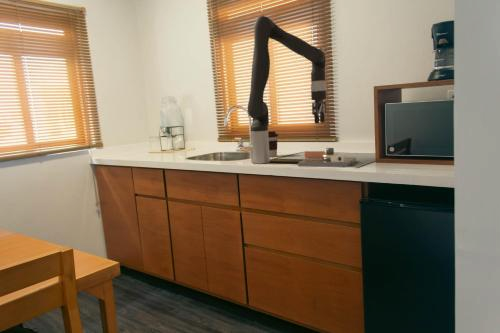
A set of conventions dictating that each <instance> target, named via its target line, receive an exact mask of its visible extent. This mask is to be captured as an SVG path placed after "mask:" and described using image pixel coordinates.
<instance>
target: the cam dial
mask: <svg viewBox="0 0 500 333" xmlns="http://www.w3.org/2000/svg"><path fill="white" fill-rule="evenodd" d="M325 152H326V153H325ZM331 155H340V154H339V153H338V152H337V153H336V152H335V149H334V147H326V151H325V150H317V151H315V150H313V151H312V150H310V151H304V160H305V159H327V160H329V159H331Z"/></svg>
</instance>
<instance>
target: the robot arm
mask: <svg viewBox="0 0 500 333" xmlns="http://www.w3.org/2000/svg"><path fill="white" fill-rule="evenodd" d="M253 28H254V29H253V31H254V32H253V33H254V44H253V55H252V63H251V76H250V93H249V99H248V103H247V113H248V116H249V117H250V118H251V119H252V122H251V126H250V136H251V137H250V138H251V145H250V158H251V164H267V163H270V162H271V161H270V160H271V157H270V155H269V139H268V132H269V123H270V122H269V120H270V119H269V118H270V117H269V108H268V104H267V103H266V102H265V101H264V93H265V89H266V86H267V83H268V81H269V76H270V68H271V67H270V66H271V59H270V52H269V51H270V50H269V40H270V39H271V40H274V41H275V42H278V43H279V44H281V45H283V46H284V47H285V48H287V49H288V50H290V51H291V52H294V53H295V54H297V55H299V56H302V57H303V58H305V59H307V61H309V62H311V72H310V80H311V81H310V82H311V84H310V92H311V93H310V97H311V101H314V102H312V103H311V111H312V112H311V113H312V116H314V124H320V123H325V122H326V120H325V118H326V117H325V116H326V114H327V102H326V101H324V100H327V83H326V71H325V70H326V54H325V52H324V51H322V50H321V49H319V48H317V47H316V46H313V45H311V44H309V42H308V41H305V40H303V39H302V38H300V37H298V36H296V35H294V34H292V33H289V32H287V31H286V30H285V29H283V28H281V27H280V26H278V25H277V24H276V23H275V22H274V21H273V20H272V19H271V18H269V17H268V16H266V15H262V16H261V15H260V16H259V17H258V18H256V20H255V22H254V26H253Z"/></svg>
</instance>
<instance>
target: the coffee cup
mask: <svg viewBox="0 0 500 333" xmlns="http://www.w3.org/2000/svg"><path fill="white" fill-rule="evenodd" d="M278 137H279V134H278V133H276V131H271V130H270V131H269V130H268V139H269V155H270V158H276V157H277V156H278Z"/></svg>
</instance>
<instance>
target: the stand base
mask: <svg viewBox="0 0 500 333" xmlns="http://www.w3.org/2000/svg"><path fill="white" fill-rule="evenodd" d="M297 162H298V163H297V167H320V168H322V167H325V168H326V167H328V168H329V167H334V168H335V167H336V168H337V167H338V168H339V167H340V168H341V167H342V168H348V167H349V166H351V165H352V164H354V163H357V157H356V156H354V157H353V156H352V157H351V156H350V157H346V156H345V154H339V155H331V159H329V160H327V159H305V158H304V159H303V160H301V161H297Z"/></svg>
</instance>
